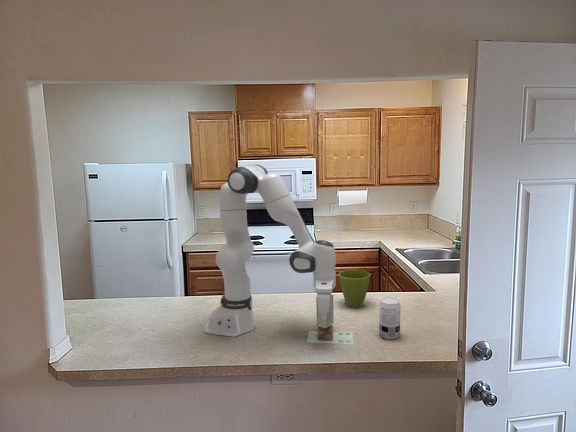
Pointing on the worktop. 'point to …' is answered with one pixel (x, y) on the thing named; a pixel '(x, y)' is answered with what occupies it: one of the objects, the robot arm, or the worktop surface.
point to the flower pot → (354, 286)
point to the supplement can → (389, 318)
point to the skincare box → (330, 316)
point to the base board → (337, 337)
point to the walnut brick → (325, 333)
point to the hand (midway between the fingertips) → (324, 314)
